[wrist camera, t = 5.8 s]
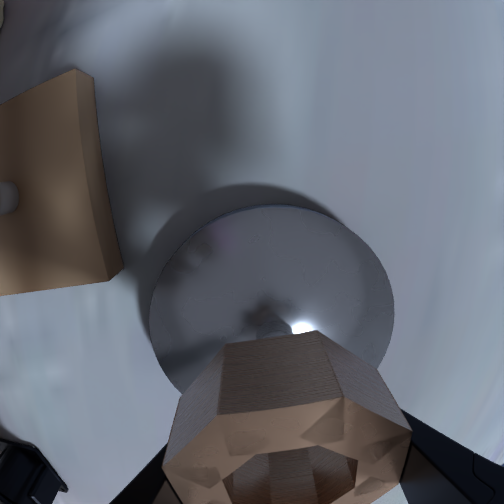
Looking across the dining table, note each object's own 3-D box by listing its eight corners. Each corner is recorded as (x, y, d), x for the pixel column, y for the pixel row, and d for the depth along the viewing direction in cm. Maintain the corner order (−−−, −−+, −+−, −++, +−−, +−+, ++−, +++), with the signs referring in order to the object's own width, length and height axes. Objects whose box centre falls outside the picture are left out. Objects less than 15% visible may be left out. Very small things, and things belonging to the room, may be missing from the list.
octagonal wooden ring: (211, 475, 10) (205, 536, 7) (163, 349, 9) (135, 417, 6) (368, 452, 10) (389, 509, 7) (377, 317, 9) (423, 374, 6)
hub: (188, 417, 18) (176, 470, 14) (132, 226, 15) (92, 248, 11) (380, 389, 18) (405, 437, 13) (378, 189, 15) (423, 198, 10)
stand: (-3, 287, 16) (-52, 317, 11) (-30, 137, 13) (-84, 138, 9) (124, 268, 16) (79, 307, 11) (93, 77, 13) (40, 51, 8)
